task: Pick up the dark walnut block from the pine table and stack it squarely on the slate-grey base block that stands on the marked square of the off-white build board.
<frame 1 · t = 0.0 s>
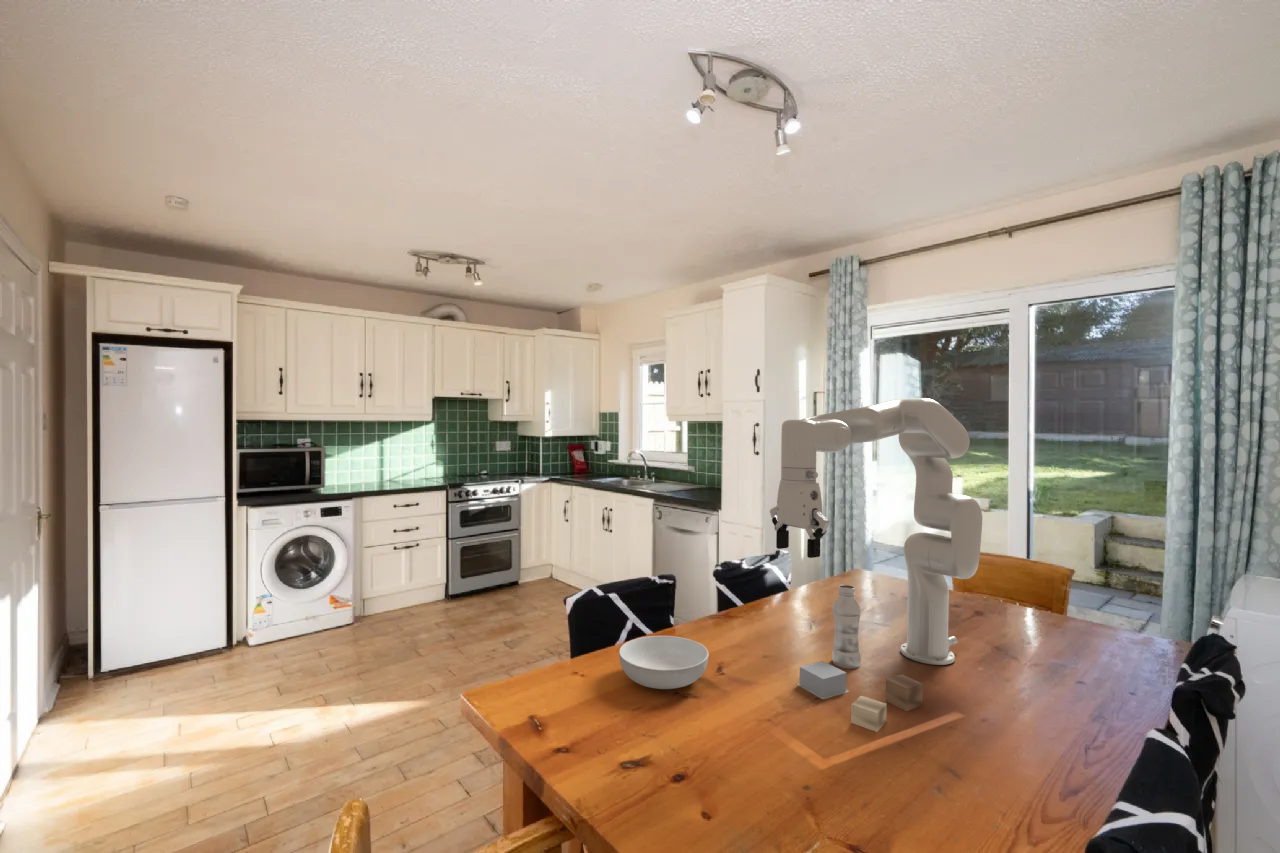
hand: (797, 552, 128), 31 cm above the table, tool pointing down, fingers open, 9 cm apart
base block: (822, 687, 128), point 1 cm above the table, touching build board
walnut block: (903, 709, 121), on the table
birch block: (868, 729, 113), on the table
plastic bottle: (846, 669, 141), on the table
serving bowl: (663, 681, 134), on the table
build board: (822, 693, 128), on the table
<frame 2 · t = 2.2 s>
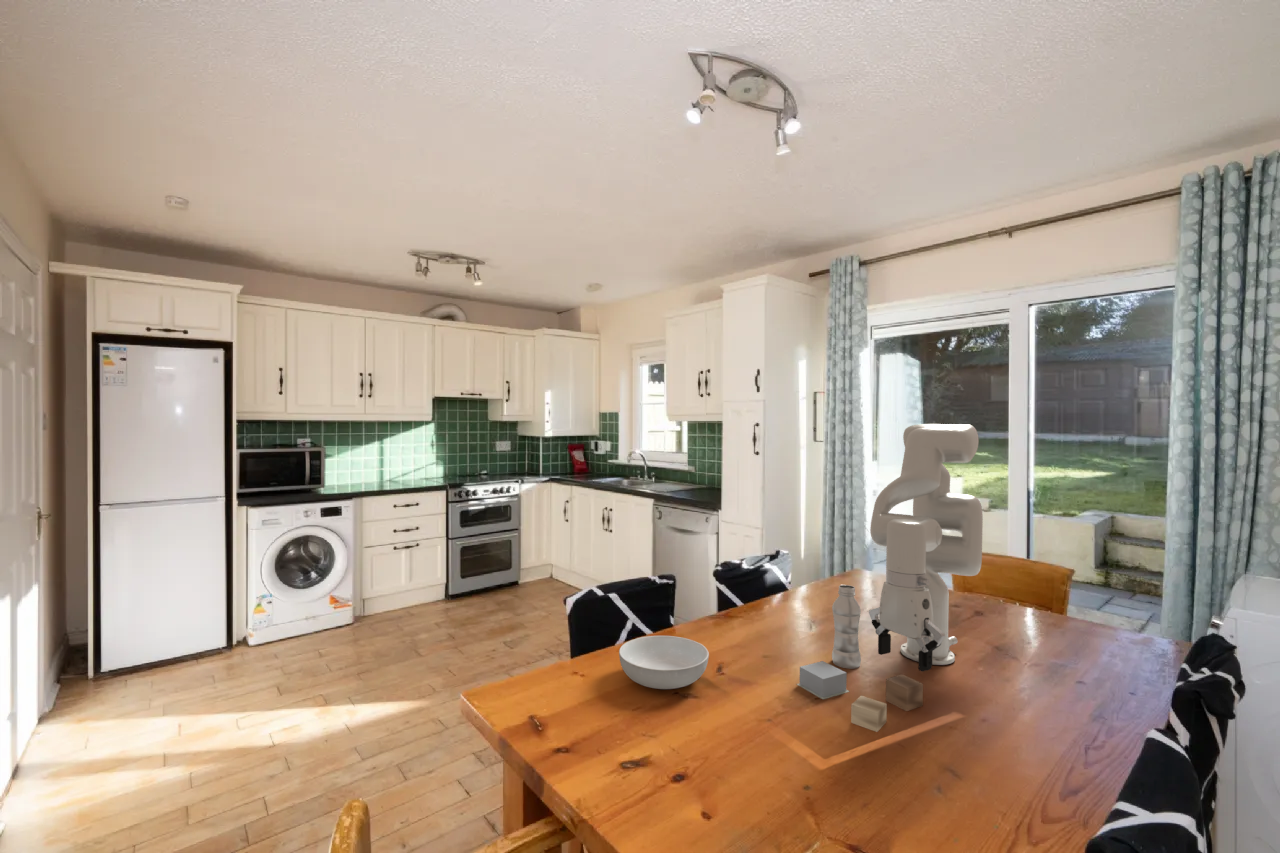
hand: (903, 661, 121), 10 cm above the table, tool pointing down, fingers open, 9 cm apart
nothing on the table moved.
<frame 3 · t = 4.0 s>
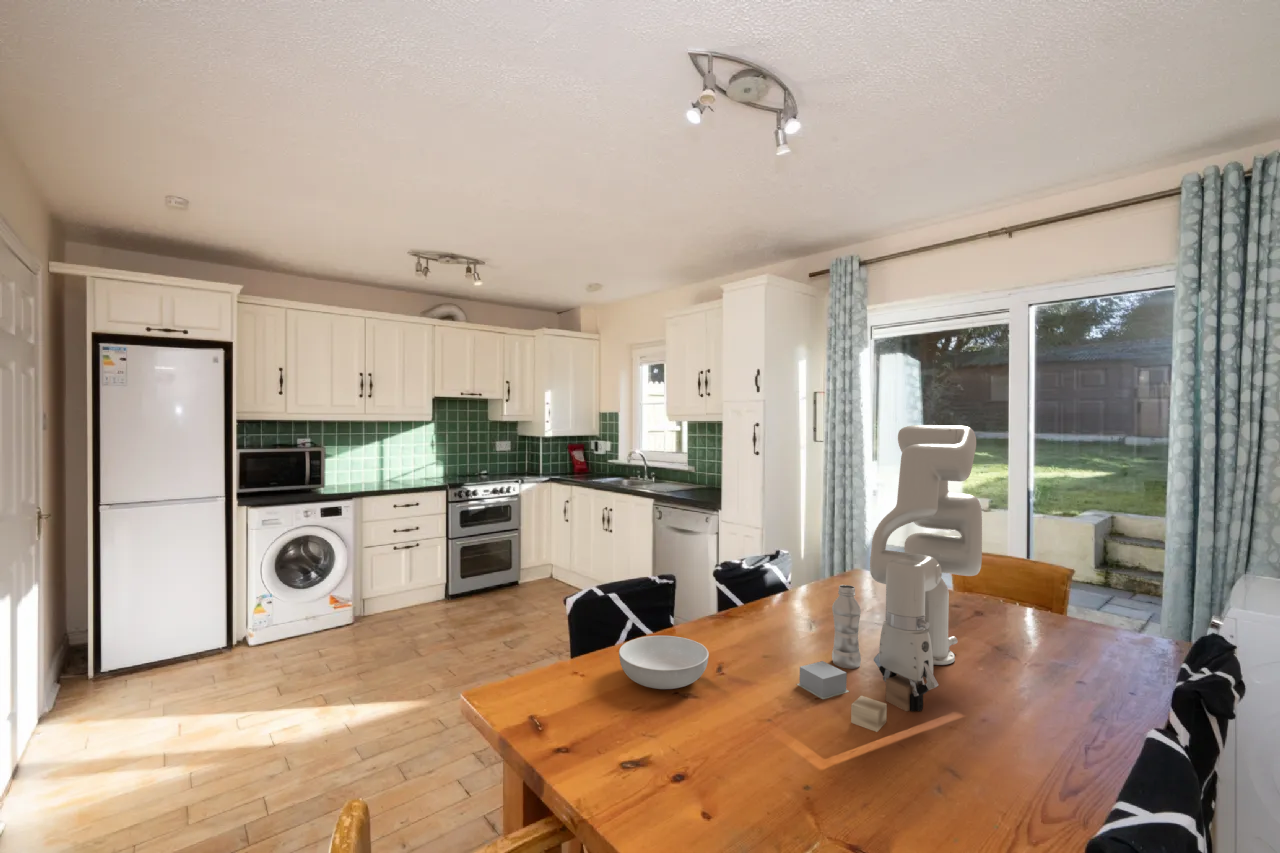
hand: (903, 705, 121), 1 cm above the table, tool pointing down, fingers closed on walnut block, 5 cm apart
walnut block: (903, 709, 121), on the table, touching gripper
everything else where it was.
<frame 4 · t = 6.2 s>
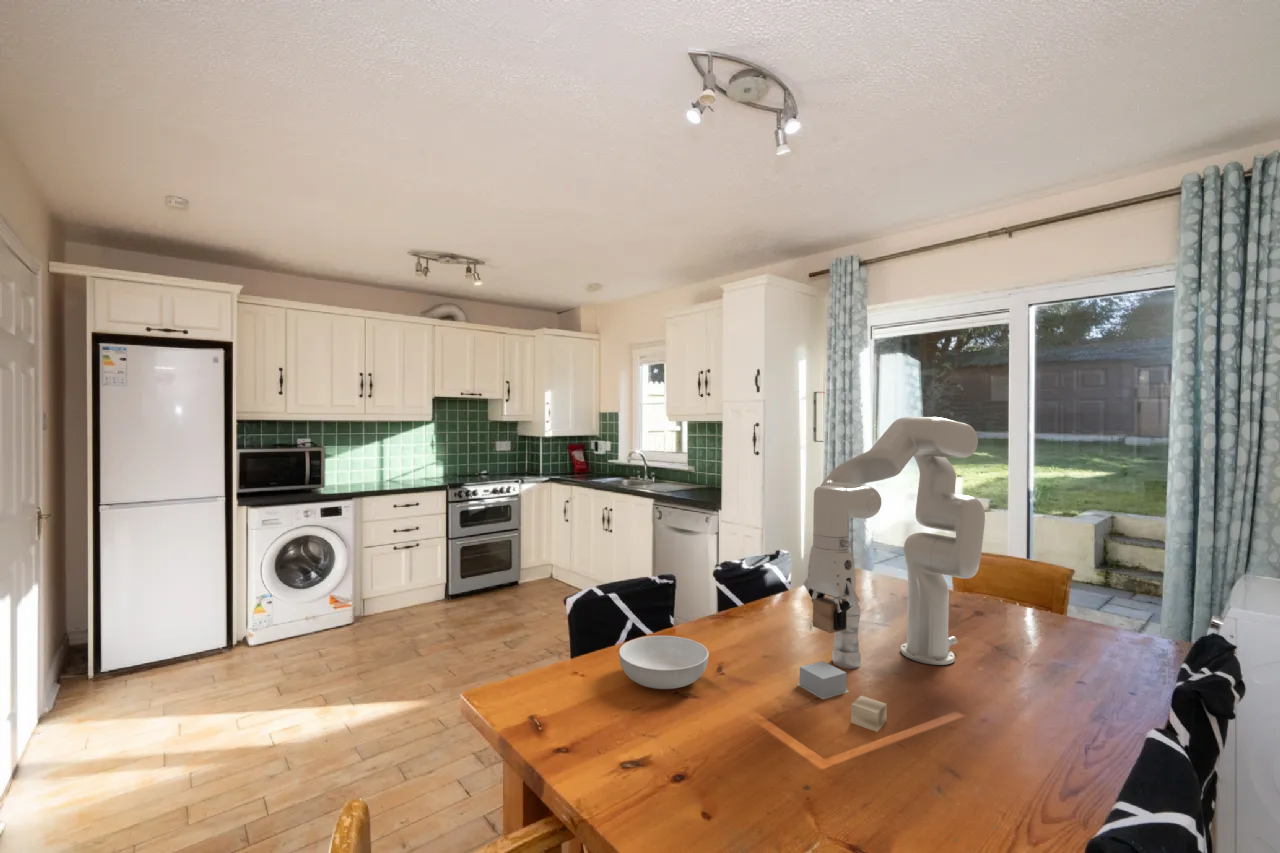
hand: (829, 624, 127), 16 cm above the table, tool pointing down, fingers closed on walnut block, 5 cm apart
walnut block: (829, 627, 127), point 15 cm above the table, touching gripper
everything else where it was.
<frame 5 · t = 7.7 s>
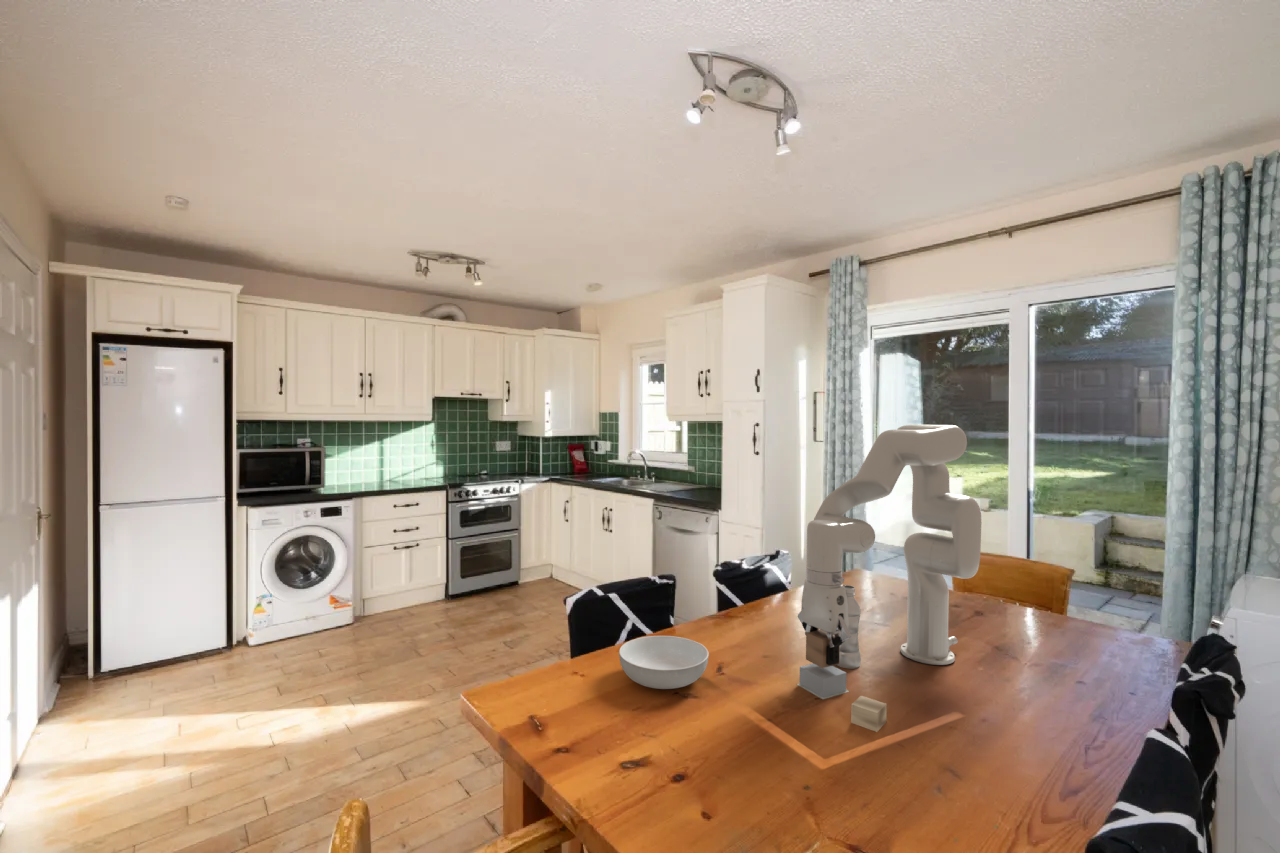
hand: (822, 658, 128), 8 cm above the table, tool pointing down, fingers closed on walnut block, 5 cm apart
walnut block: (822, 661, 128), point 7 cm above the table, touching gripper
everything else where it was.
when the fingers open (7 cm above the table, at t = 8.6 s): walnut block drops 1 cm, resting on base block.
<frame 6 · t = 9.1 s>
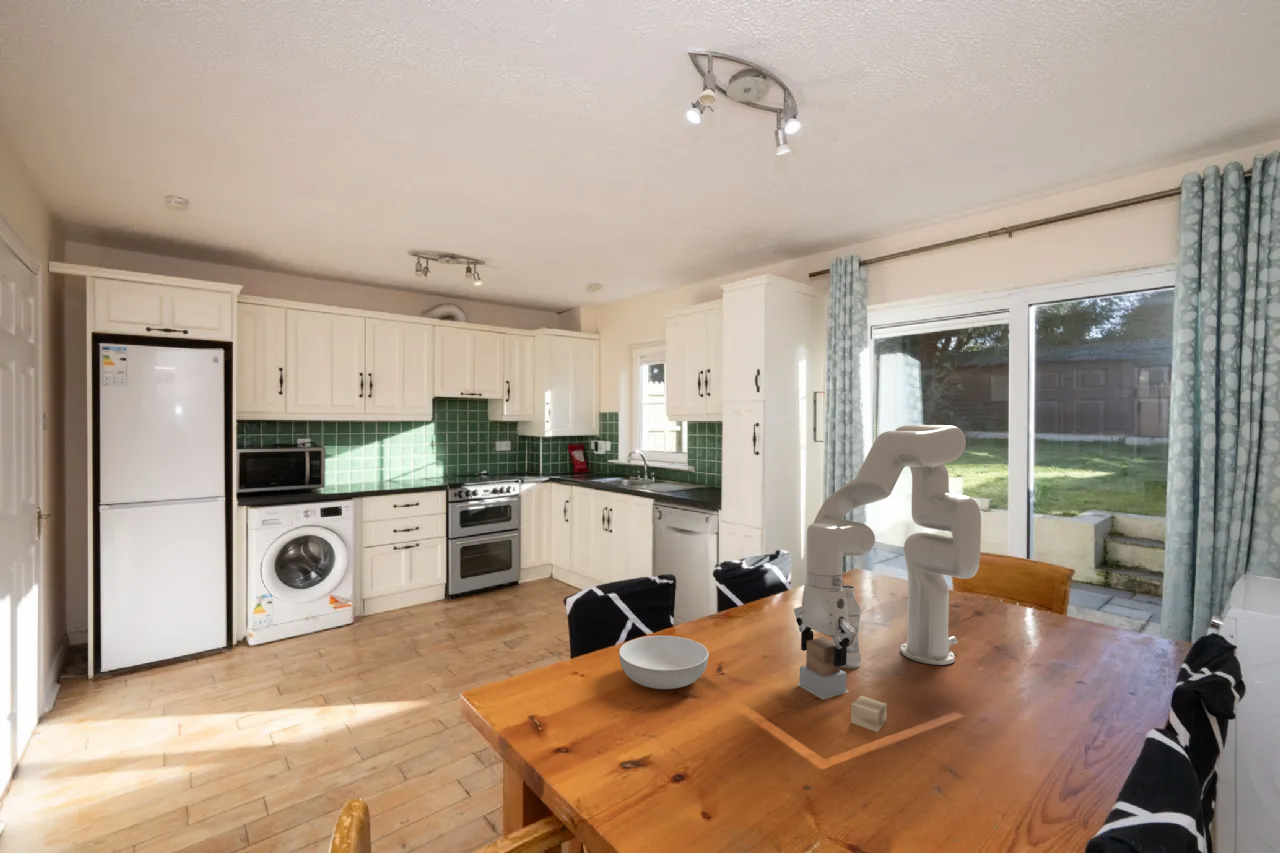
hand: (823, 657, 128), 8 cm above the table, tool pointing down, fingers open, 9 cm apart
base block: (822, 687, 128), point 1 cm above the table, touching build board, walnut block
walnut block: (823, 669, 128), point 5 cm above the table, touching base block
everything else where it was.
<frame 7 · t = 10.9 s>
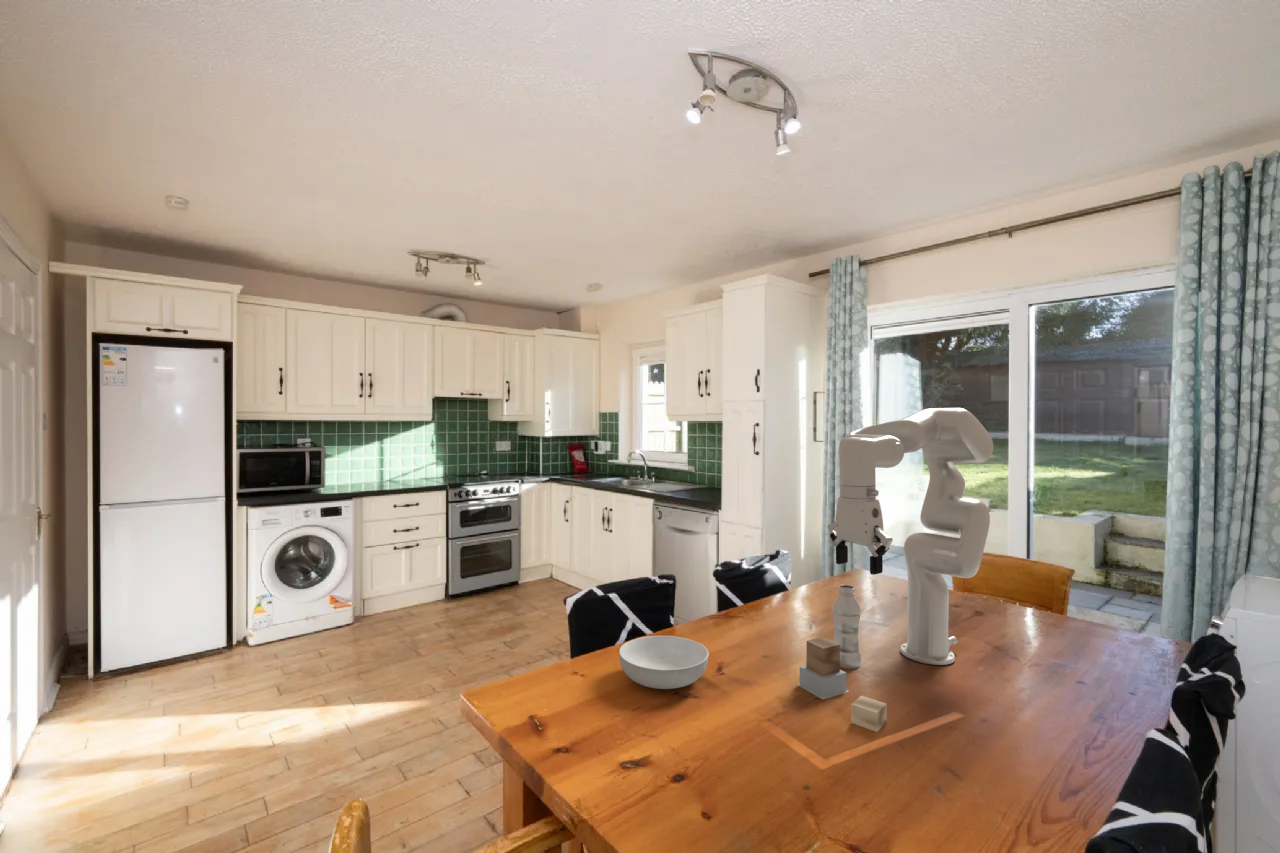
hand: (858, 568, 130), 27 cm above the table, tool pointing down, fingers open, 9 cm apart
nothing on the table moved.
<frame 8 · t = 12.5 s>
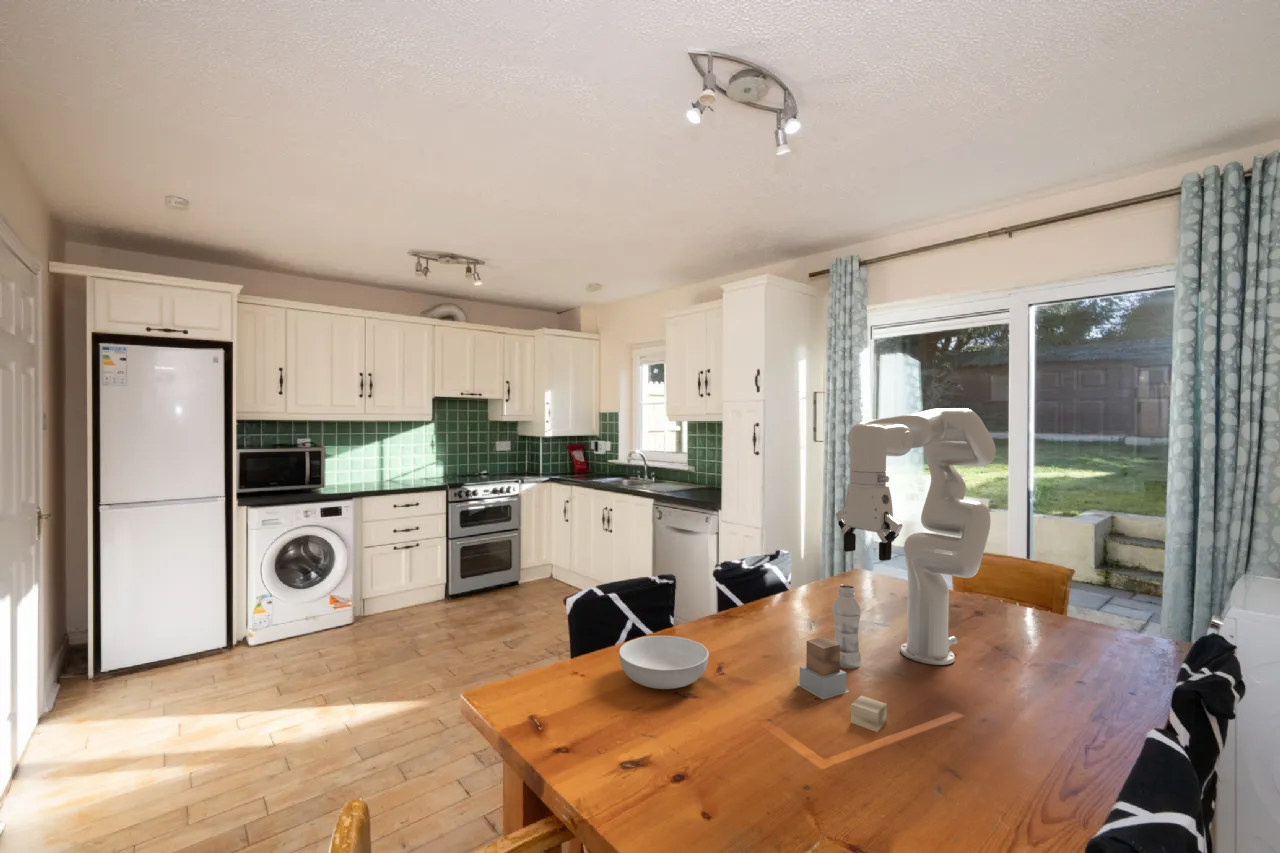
hand: (866, 555, 130), 30 cm above the table, tool pointing down, fingers open, 9 cm apart
nothing on the table moved.
at the end: walnut block 0.0 cm off-centre on the base block, point 4.0 cm above the base block's base; walnut block tilted 0°; base block moved 0.0 cm from its start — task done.
